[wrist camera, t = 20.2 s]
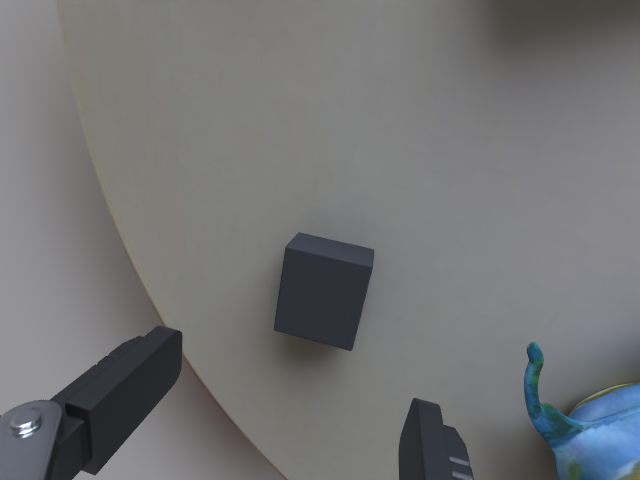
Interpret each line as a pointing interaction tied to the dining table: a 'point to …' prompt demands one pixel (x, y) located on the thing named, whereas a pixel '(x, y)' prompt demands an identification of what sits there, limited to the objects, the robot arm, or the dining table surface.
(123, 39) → the dining table surface
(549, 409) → the decorative fish
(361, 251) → the pad
